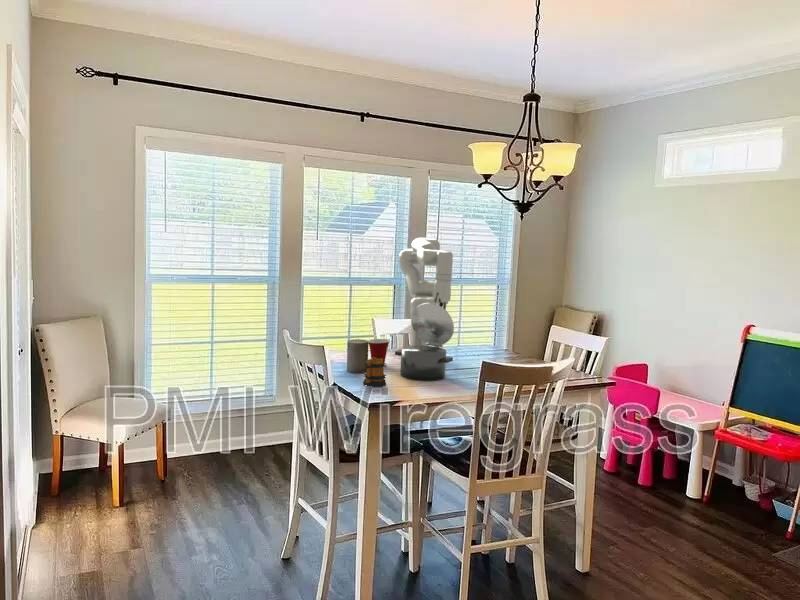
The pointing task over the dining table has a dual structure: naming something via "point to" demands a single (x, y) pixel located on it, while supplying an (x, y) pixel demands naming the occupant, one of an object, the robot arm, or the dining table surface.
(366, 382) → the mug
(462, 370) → the dining table surface
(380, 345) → the plastic cup
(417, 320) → the lid
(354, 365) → the pillar candle
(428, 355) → the pot
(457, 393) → the dining table surface
